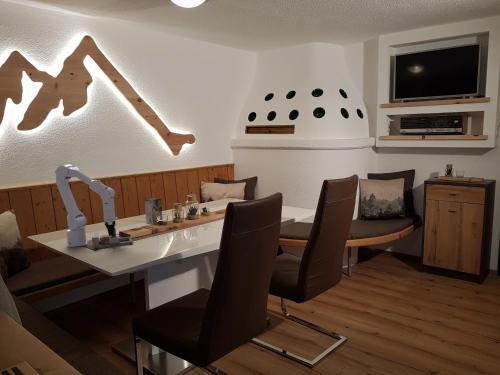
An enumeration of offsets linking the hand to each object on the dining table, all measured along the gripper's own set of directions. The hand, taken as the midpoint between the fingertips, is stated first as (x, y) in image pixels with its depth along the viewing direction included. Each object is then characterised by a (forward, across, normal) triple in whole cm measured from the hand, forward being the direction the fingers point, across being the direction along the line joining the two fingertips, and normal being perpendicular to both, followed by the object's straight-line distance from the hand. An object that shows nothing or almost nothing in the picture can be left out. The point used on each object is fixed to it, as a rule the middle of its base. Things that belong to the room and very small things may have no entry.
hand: (111, 235), depth 210 cm
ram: (+5, 0, -1) cm, 5 cm away
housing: (+5, 0, +4) cm, 6 cm away
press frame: (+5, 0, 0) cm, 5 cm away
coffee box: (+5, +43, -28) cm, 52 cm away
